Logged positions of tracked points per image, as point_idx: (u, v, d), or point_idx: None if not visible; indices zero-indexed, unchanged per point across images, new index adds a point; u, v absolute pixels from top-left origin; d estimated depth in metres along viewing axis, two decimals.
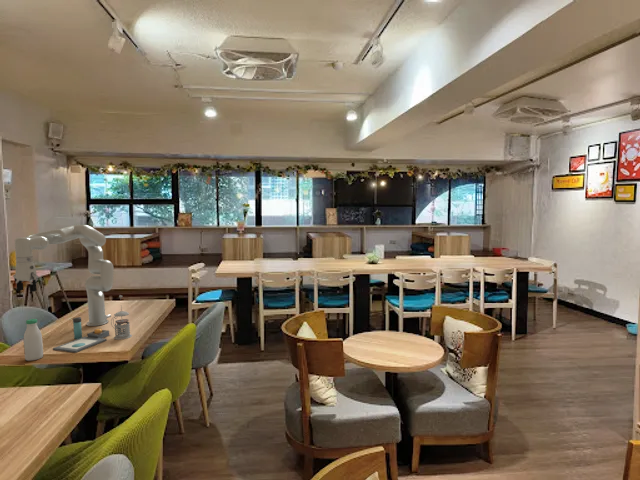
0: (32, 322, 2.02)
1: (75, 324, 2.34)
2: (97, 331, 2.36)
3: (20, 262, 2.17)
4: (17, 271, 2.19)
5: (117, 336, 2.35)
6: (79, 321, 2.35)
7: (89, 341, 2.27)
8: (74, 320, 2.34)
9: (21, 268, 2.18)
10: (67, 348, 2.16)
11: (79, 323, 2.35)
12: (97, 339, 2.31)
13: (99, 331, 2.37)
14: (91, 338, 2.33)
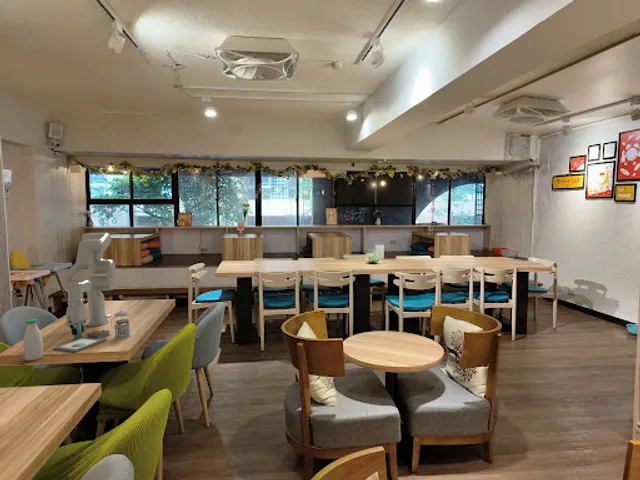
0: (32, 322, 2.02)
1: None
2: (97, 331, 2.36)
3: (82, 304, 2.36)
4: (75, 314, 2.32)
5: (117, 336, 2.35)
6: (79, 321, 2.35)
7: (89, 341, 2.27)
8: None
9: (80, 310, 2.35)
10: (67, 348, 2.16)
11: (79, 323, 2.35)
12: (97, 339, 2.31)
13: (99, 331, 2.37)
14: (91, 338, 2.33)
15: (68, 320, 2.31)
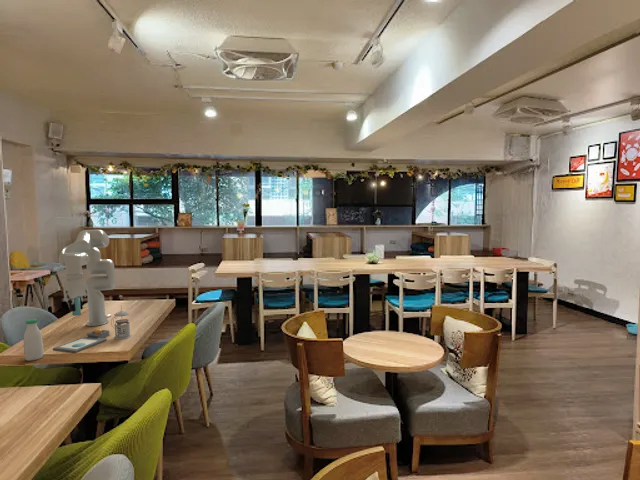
0: (32, 322, 2.02)
1: None
2: (97, 331, 2.36)
3: (81, 278, 2.19)
4: (74, 289, 2.15)
5: (117, 336, 2.35)
6: (78, 296, 2.18)
7: (89, 341, 2.27)
8: None
9: (79, 284, 2.18)
10: (67, 348, 2.16)
11: (78, 298, 2.18)
12: (97, 339, 2.31)
13: (99, 331, 2.37)
14: (91, 338, 2.33)
15: (66, 295, 2.14)
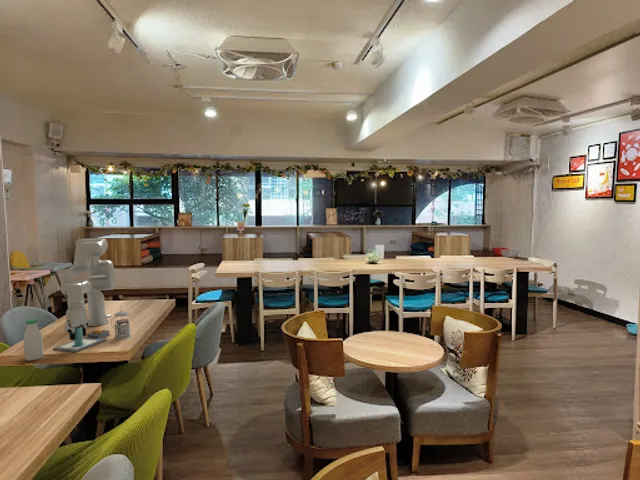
0: (32, 322, 2.02)
1: (75, 330, 2.19)
2: (97, 331, 2.36)
3: (83, 306, 2.20)
4: (75, 318, 2.17)
5: (117, 336, 2.35)
6: (80, 327, 2.20)
7: (89, 341, 2.27)
8: None
9: (81, 313, 2.20)
10: (67, 348, 2.16)
11: (80, 329, 2.20)
12: (97, 339, 2.31)
13: (99, 331, 2.37)
14: (91, 338, 2.33)
15: (67, 323, 2.15)
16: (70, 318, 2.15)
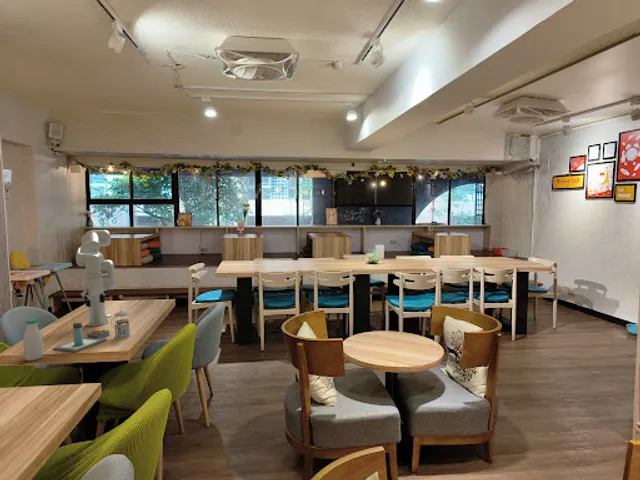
0: (32, 322, 2.02)
1: (75, 330, 2.18)
2: (97, 331, 2.36)
3: (100, 276, 2.35)
4: (93, 287, 2.32)
5: (117, 336, 2.35)
6: (80, 327, 2.20)
7: (89, 341, 2.27)
8: (74, 326, 2.18)
9: (98, 282, 2.35)
10: (67, 348, 2.16)
11: (80, 329, 2.20)
12: (97, 339, 2.31)
13: (99, 331, 2.37)
14: (91, 338, 2.33)
15: (85, 290, 2.29)
16: (88, 287, 2.30)
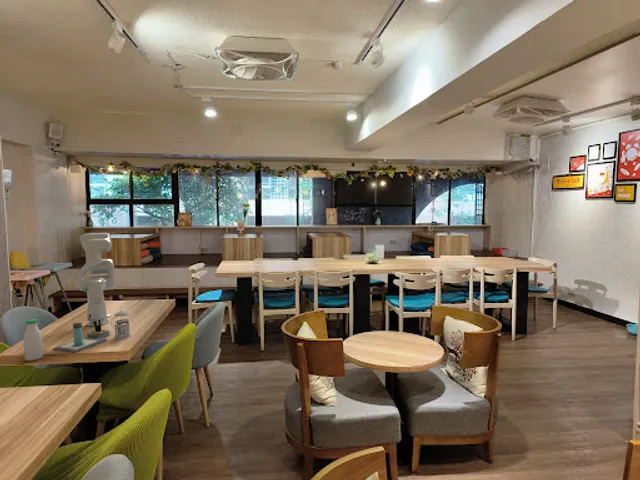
0: (32, 322, 2.02)
1: (75, 330, 2.18)
2: (97, 333, 2.37)
3: (103, 301, 2.37)
4: (96, 312, 2.34)
5: (117, 336, 2.35)
6: (80, 327, 2.20)
7: (89, 341, 2.27)
8: (74, 326, 2.18)
9: (101, 307, 2.37)
10: (67, 348, 2.16)
11: (80, 329, 2.20)
12: (97, 339, 2.31)
13: None
14: (91, 338, 2.33)
15: (90, 318, 2.33)
16: (91, 312, 2.32)
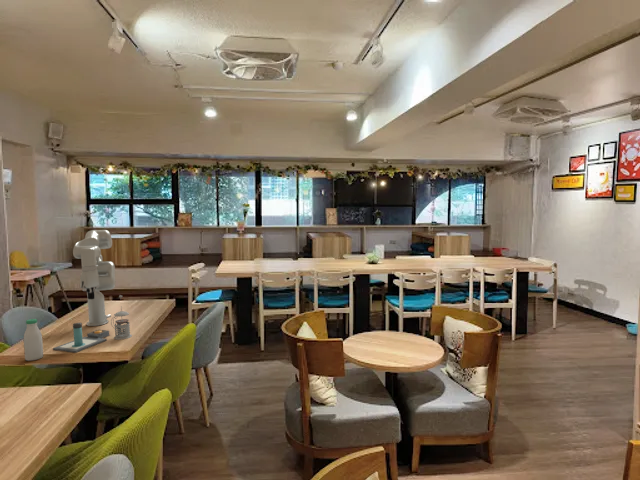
0: (32, 322, 2.02)
1: (75, 330, 2.18)
2: (97, 333, 2.37)
3: (96, 269, 2.38)
4: (89, 279, 2.35)
5: (117, 336, 2.35)
6: (80, 327, 2.20)
7: (89, 341, 2.27)
8: (74, 326, 2.18)
9: (94, 275, 2.38)
10: (67, 348, 2.16)
11: (80, 329, 2.20)
12: (97, 339, 2.31)
13: None
14: (91, 338, 2.33)
15: (83, 285, 2.34)
16: (84, 279, 2.33)
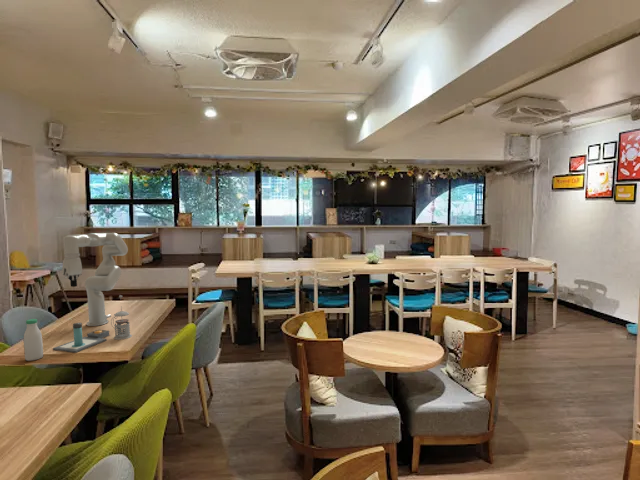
0: (32, 322, 2.02)
1: (75, 330, 2.18)
2: (97, 333, 2.37)
3: (78, 257, 2.43)
4: (71, 267, 2.40)
5: (117, 336, 2.35)
6: (80, 327, 2.20)
7: (89, 341, 2.27)
8: (74, 326, 2.18)
9: (76, 263, 2.43)
10: (67, 348, 2.16)
11: (80, 329, 2.20)
12: (97, 339, 2.31)
13: None
14: (91, 338, 2.33)
15: (65, 272, 2.39)
16: (66, 266, 2.38)
